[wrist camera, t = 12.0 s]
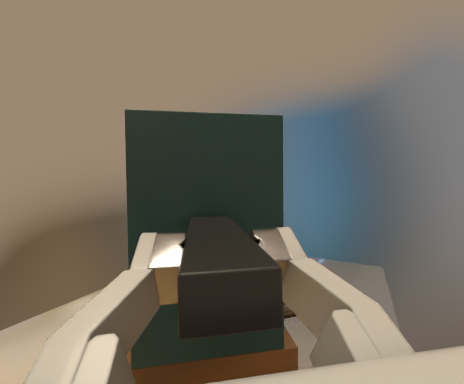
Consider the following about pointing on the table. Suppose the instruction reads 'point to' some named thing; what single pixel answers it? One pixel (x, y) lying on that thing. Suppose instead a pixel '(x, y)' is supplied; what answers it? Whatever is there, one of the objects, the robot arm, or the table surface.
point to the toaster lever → (226, 282)
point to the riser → (221, 367)
